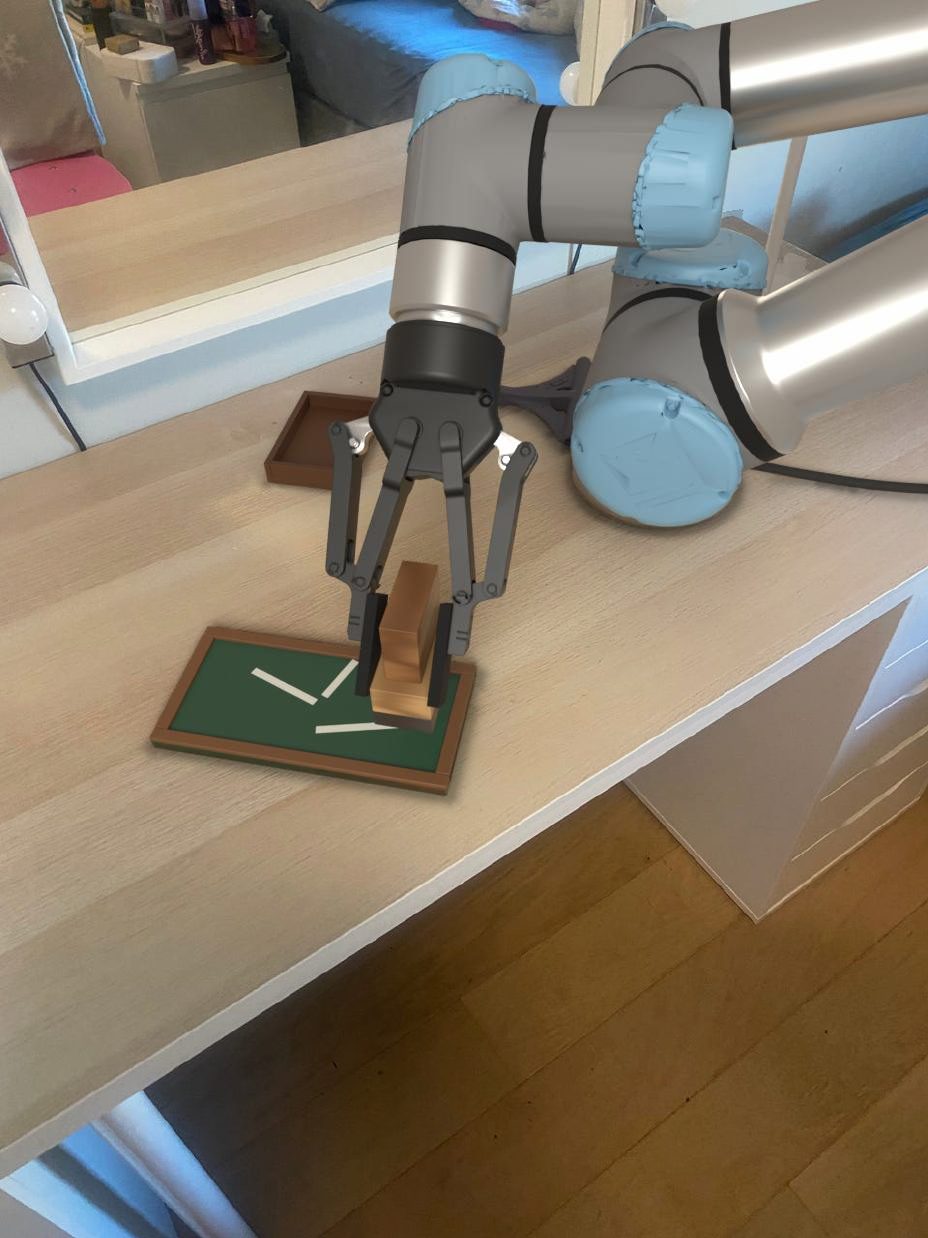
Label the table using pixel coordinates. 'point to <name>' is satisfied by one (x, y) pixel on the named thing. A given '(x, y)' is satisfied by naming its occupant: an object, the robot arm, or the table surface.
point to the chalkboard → (304, 713)
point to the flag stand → (792, 264)
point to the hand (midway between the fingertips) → (401, 698)
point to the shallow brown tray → (313, 439)
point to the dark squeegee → (552, 399)
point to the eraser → (408, 650)
